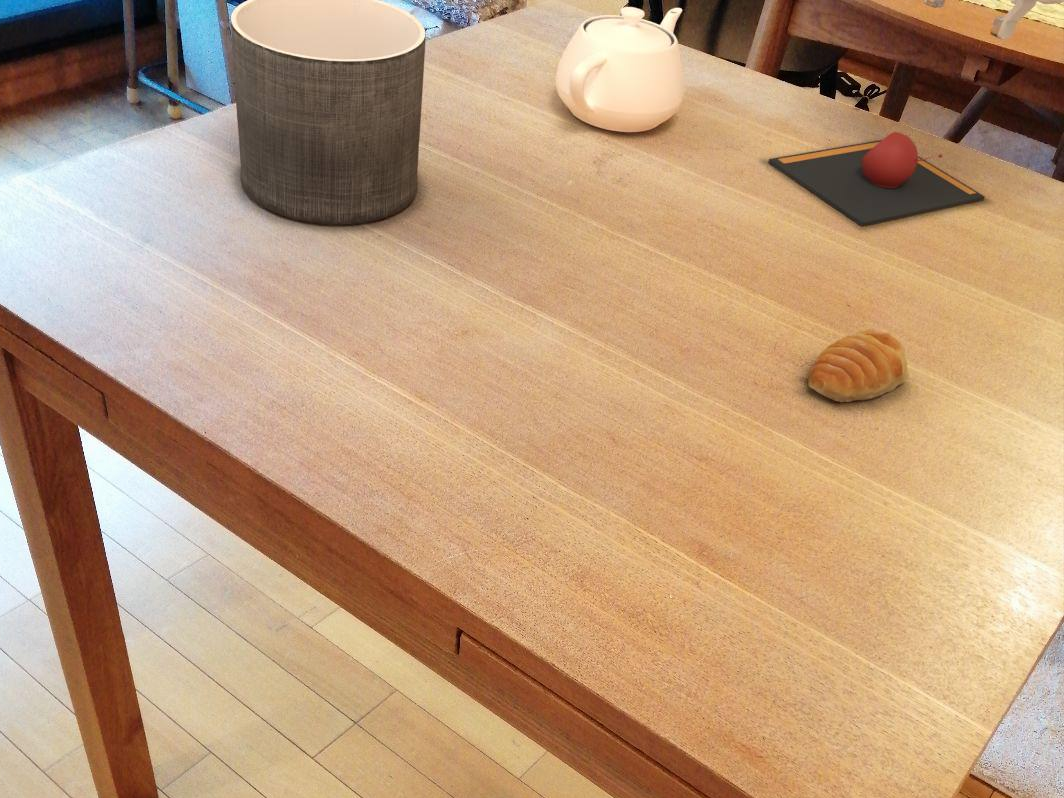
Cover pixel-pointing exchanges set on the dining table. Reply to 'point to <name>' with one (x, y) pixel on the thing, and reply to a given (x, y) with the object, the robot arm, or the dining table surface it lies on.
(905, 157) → the fruit
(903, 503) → the dining table surface
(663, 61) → the teapot
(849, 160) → the corner mat
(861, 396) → the pastry
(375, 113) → the planter
